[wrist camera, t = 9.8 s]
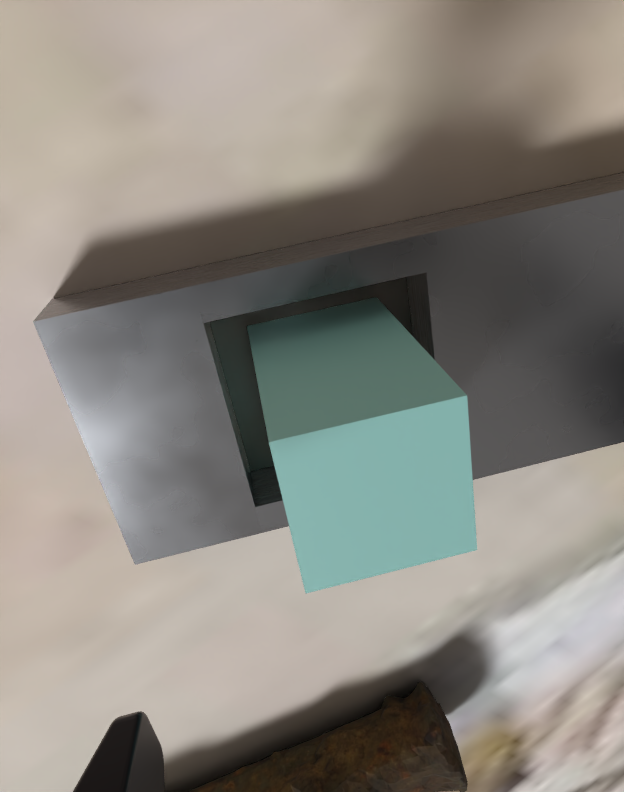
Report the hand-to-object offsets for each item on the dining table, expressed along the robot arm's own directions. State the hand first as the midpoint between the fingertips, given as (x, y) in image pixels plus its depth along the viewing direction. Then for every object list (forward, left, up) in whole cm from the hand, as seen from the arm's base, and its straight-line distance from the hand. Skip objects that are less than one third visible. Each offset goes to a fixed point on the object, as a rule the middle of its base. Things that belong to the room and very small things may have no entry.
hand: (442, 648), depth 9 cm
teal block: (0, 0, -11) cm, 11 cm away
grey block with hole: (-3, 0, -11) cm, 11 cm away
